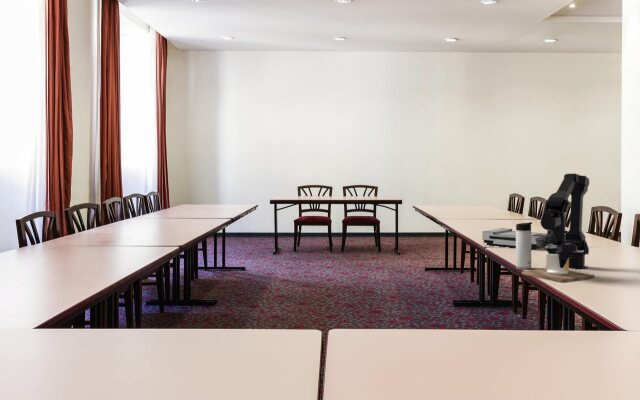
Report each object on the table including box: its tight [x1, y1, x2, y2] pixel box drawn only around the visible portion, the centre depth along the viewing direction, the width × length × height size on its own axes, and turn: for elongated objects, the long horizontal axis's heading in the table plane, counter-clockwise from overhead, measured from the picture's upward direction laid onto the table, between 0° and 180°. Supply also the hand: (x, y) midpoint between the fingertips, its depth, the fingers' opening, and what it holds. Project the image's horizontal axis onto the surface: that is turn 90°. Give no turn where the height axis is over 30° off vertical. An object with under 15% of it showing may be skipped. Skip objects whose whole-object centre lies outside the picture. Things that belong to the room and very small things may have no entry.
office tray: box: [481, 227, 547, 250], centre depth 310 cm, size 21×32×8 cm, turn 43°
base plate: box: [521, 268, 596, 284], centre depth 226 cm, size 18×20×1 cm
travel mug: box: [515, 221, 533, 271], centre depth 243 cm, size 6×7×20 cm
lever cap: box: [545, 253, 570, 275], centre depth 226 cm, size 8×8×7 cm
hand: (557, 266), depth 226 cm, fingers closed on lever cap, 6 cm apart
